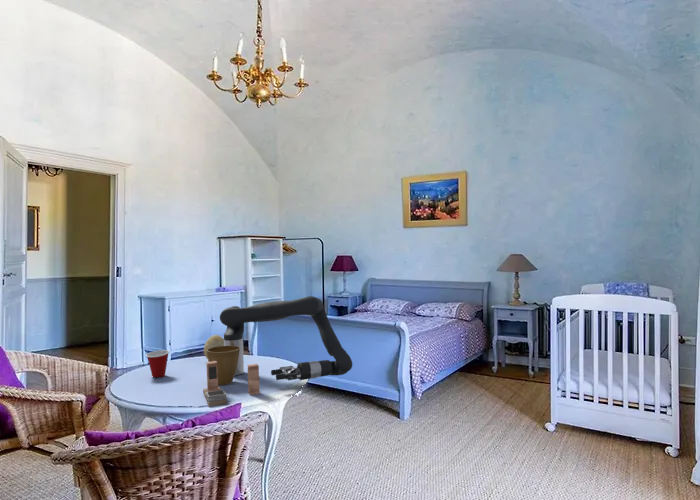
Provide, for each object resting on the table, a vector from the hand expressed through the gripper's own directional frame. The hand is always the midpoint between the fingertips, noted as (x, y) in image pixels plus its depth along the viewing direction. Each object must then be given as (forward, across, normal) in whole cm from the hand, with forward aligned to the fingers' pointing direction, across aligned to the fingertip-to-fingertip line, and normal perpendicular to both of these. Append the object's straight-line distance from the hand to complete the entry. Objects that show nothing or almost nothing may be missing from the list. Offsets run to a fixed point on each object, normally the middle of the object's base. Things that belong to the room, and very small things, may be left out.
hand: (273, 375), depth 200 cm
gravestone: (+25, -2, +7) cm, 26 cm away
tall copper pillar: (+9, 0, +7) cm, 11 cm away
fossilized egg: (+16, -69, +7) cm, 71 cm away
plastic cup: (+46, -52, +7) cm, 70 cm away
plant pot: (+18, -23, +7) cm, 30 cm away
